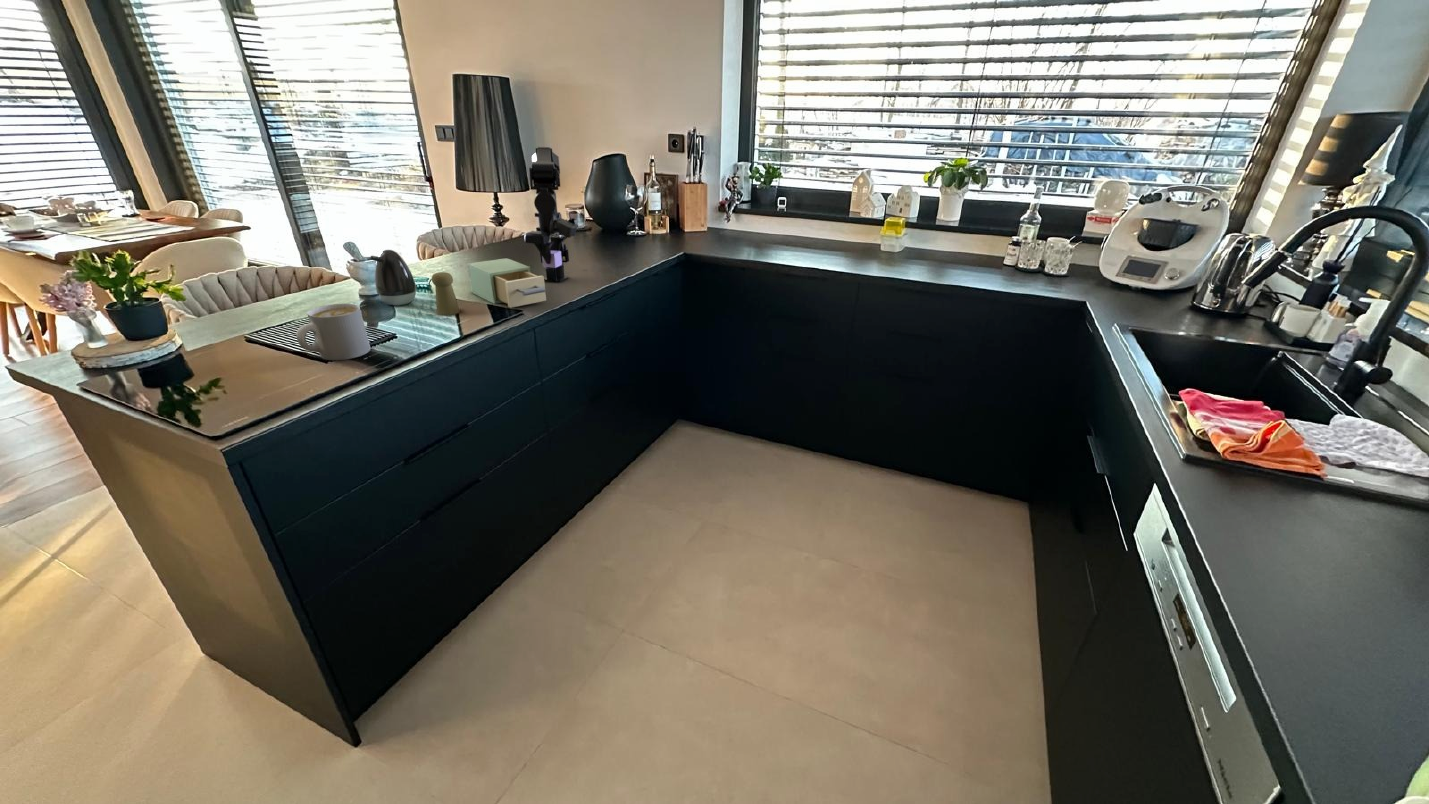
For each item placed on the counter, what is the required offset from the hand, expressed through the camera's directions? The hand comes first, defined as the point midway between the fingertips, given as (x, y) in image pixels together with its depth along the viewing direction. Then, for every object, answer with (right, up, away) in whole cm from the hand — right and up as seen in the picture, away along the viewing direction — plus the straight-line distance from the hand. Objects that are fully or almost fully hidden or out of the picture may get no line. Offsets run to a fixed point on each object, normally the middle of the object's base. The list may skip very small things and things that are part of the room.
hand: (552, 262), depth 171 cm
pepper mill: (-25, -18, -15) cm, 34 cm away
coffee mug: (-36, -32, -44) cm, 65 cm away
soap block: (0, -1, +1) cm, 1 cm away
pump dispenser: (-41, -14, -10) cm, 45 cm away
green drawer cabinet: (-16, -10, +1) cm, 18 cm away
